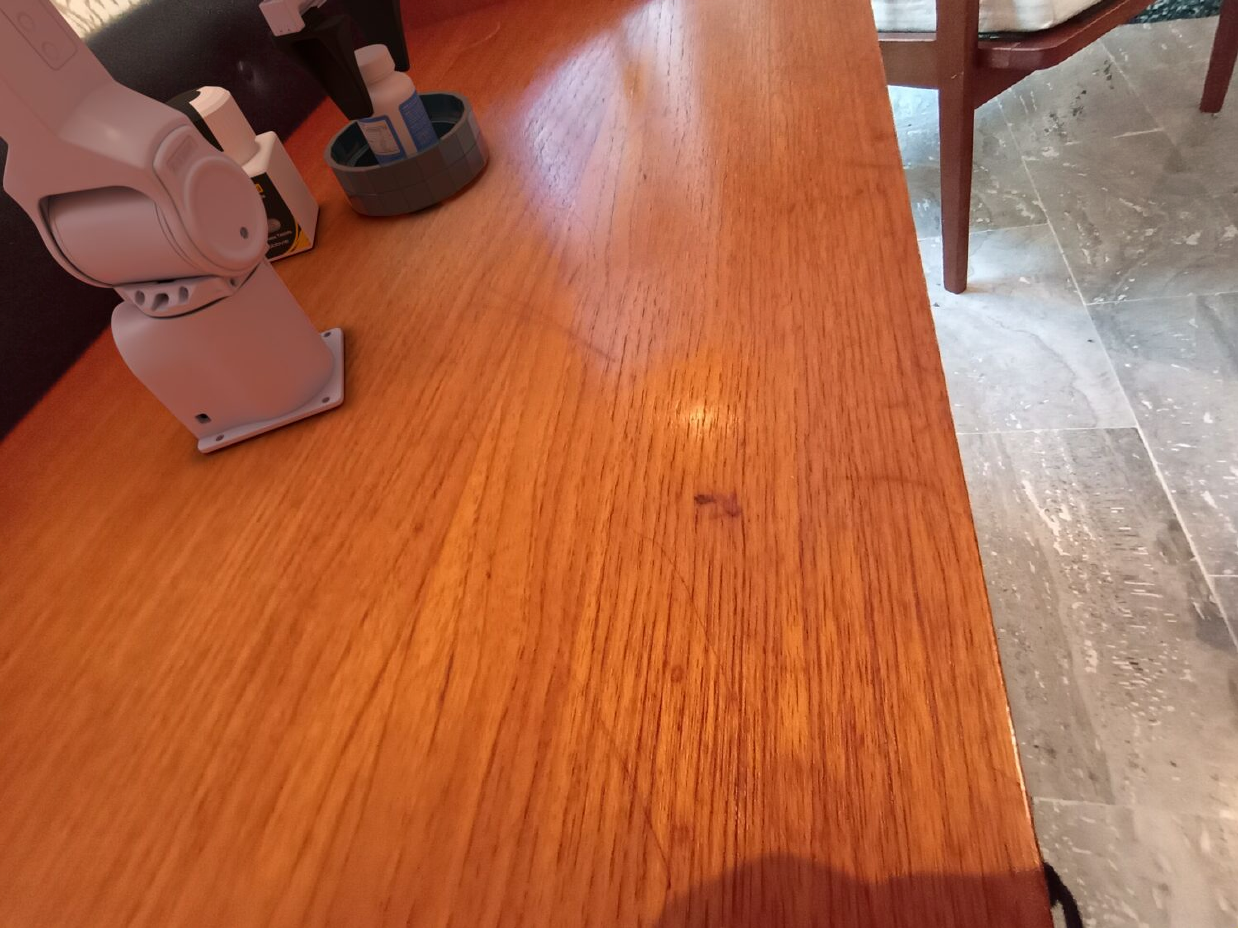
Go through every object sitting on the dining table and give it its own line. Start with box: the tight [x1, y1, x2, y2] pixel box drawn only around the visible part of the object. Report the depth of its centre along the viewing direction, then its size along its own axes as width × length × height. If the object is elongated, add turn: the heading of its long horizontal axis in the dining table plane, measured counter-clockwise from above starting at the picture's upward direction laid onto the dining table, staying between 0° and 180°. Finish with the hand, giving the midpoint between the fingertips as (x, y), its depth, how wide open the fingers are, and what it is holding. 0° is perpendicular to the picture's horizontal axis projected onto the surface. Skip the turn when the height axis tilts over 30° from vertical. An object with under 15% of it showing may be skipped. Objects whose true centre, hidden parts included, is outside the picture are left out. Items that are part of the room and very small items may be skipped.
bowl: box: [323, 89, 490, 217], centre depth 62 cm, size 13×13×4 cm
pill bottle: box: [354, 44, 438, 164], centre depth 60 cm, size 6×5×10 cm
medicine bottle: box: [164, 85, 320, 263], centre depth 58 cm, size 7×7×12 cm
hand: (380, 93), depth 58 cm, fingers open, 7 cm apart
